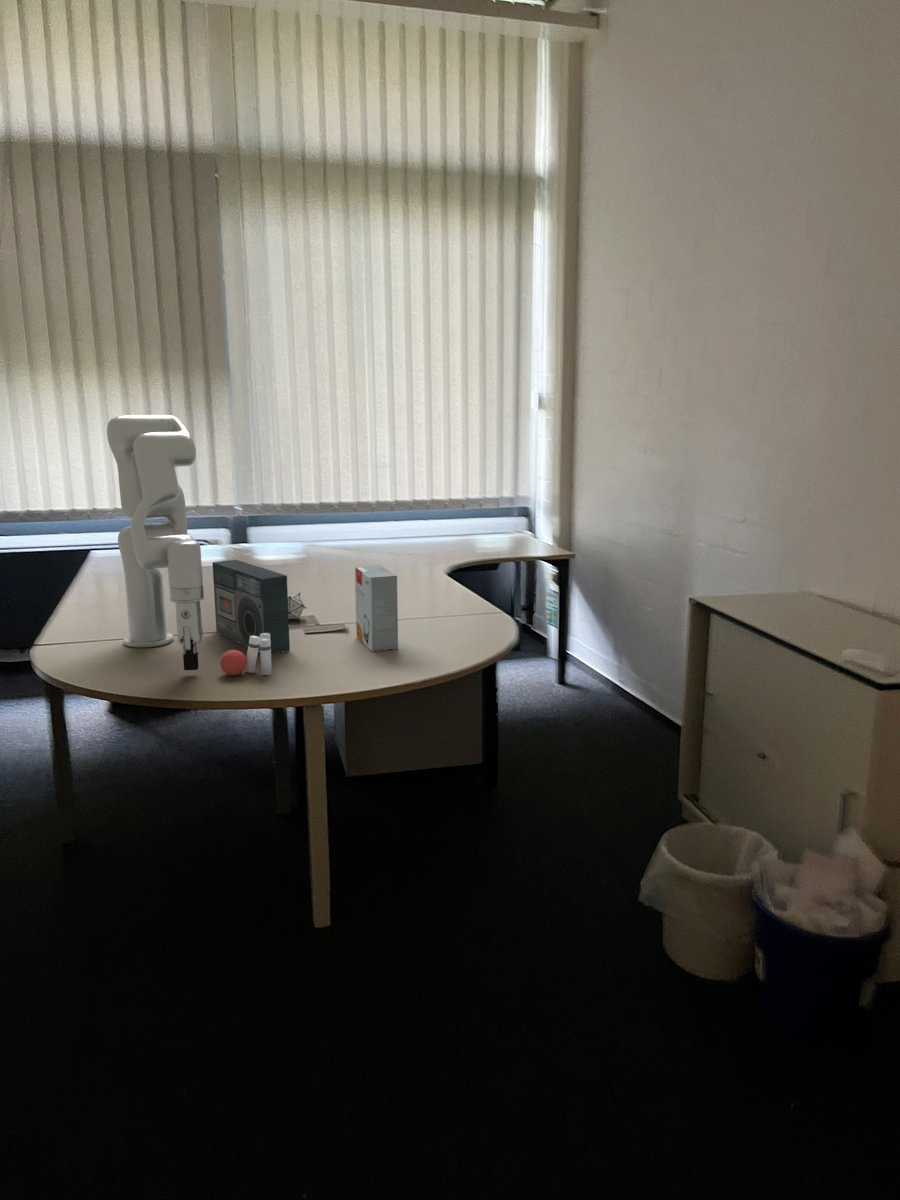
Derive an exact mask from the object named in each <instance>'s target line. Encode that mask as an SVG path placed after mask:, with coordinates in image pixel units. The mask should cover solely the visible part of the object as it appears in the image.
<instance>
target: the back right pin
mask: <svg viewBox="0 0 900 1200" xmlns="http://www.w3.org/2000/svg"><path fill="white" fill-rule="evenodd" d="M259 653H260V672H261V673H260V674H261V676H263V675H269V676H271V675H272V674H273V673H272V668H271V664H272V654H271V645H270V639H268V638H264V639H260V652H259Z"/></svg>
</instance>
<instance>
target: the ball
mask: <svg viewBox="0 0 900 1200" xmlns="http://www.w3.org/2000/svg"><path fill="white" fill-rule="evenodd" d="M219 663H220V668H221V671H222V672H223V673H225V674H226V675H228V676H237V675H241V674H242V673H243V672H244V669H245V667H246V656H245V655H244V653H242V651H240V650H237V649H230V650H228V651H225V653H223V654H222V656H221V658H220V662H219Z"/></svg>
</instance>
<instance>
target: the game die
mask: <svg viewBox="0 0 900 1200" xmlns="http://www.w3.org/2000/svg"><path fill="white" fill-rule="evenodd" d="M300 595H301V592H299V593H298V594H288V617H289V620H298V621H300V622H301V618H300V617H301V616H302V614H303V611H304V609H305V610H306V609H307V607H306V605H305V604H304V603H303V601H302V599H301V597H300Z"/></svg>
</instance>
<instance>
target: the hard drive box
mask: <svg viewBox="0 0 900 1200" xmlns="http://www.w3.org/2000/svg"><path fill="white" fill-rule="evenodd" d="M354 582H355V583H354V586H355V588H354V590H355V591H354V592H355V593H354V594H355V625H356V626H355V627H356V629H355V631H356V637H357V638H358V640H359V641H360V642H361V643H362V644H363V645H364V646H365V647H366V648H367V649H368V648H369V649H368V650H369V651H370V650H371V651H375V652H381V651H380V650H384V651H390V650H389V649H393V650H398V649H399V632H398V631H399V628H398V627H399V626H398V625H399V624H398V623H399V622H398V619H399V617H398V616H399V615H398V576H397V574H395V573H394V572H392V571H390V570H389V569H388V568H386V567H384V566H382V565H381V564H371V565H357V566H354ZM371 651H370V652H371Z"/></svg>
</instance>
